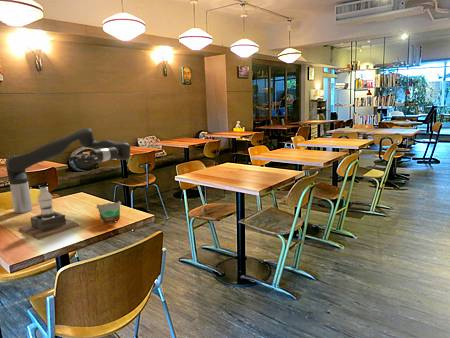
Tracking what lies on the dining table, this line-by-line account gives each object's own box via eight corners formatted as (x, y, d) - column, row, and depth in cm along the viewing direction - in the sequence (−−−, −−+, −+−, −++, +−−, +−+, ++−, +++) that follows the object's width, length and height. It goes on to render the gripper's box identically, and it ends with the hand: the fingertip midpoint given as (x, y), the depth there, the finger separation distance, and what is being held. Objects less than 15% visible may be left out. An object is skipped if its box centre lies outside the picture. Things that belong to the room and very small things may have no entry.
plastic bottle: (50, 228, 171) (45, 189, 167) (38, 227, 172) (32, 189, 168) (59, 223, 177) (54, 185, 173) (47, 223, 179) (42, 185, 174)
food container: (100, 225, 175) (98, 207, 173) (98, 222, 181) (96, 204, 179) (124, 221, 181) (123, 203, 179) (122, 217, 186) (120, 200, 184)
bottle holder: (18, 229, 174) (17, 218, 173) (57, 218, 189) (56, 207, 188) (39, 239, 161) (37, 226, 159) (79, 225, 176) (77, 214, 175)
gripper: (92, 148, 200) (65, 152, 187) (106, 149, 191) (79, 153, 179) (93, 160, 201) (67, 165, 189) (108, 162, 193) (81, 168, 180)
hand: (73, 159), depth 184 cm, fingers open, 8 cm apart
